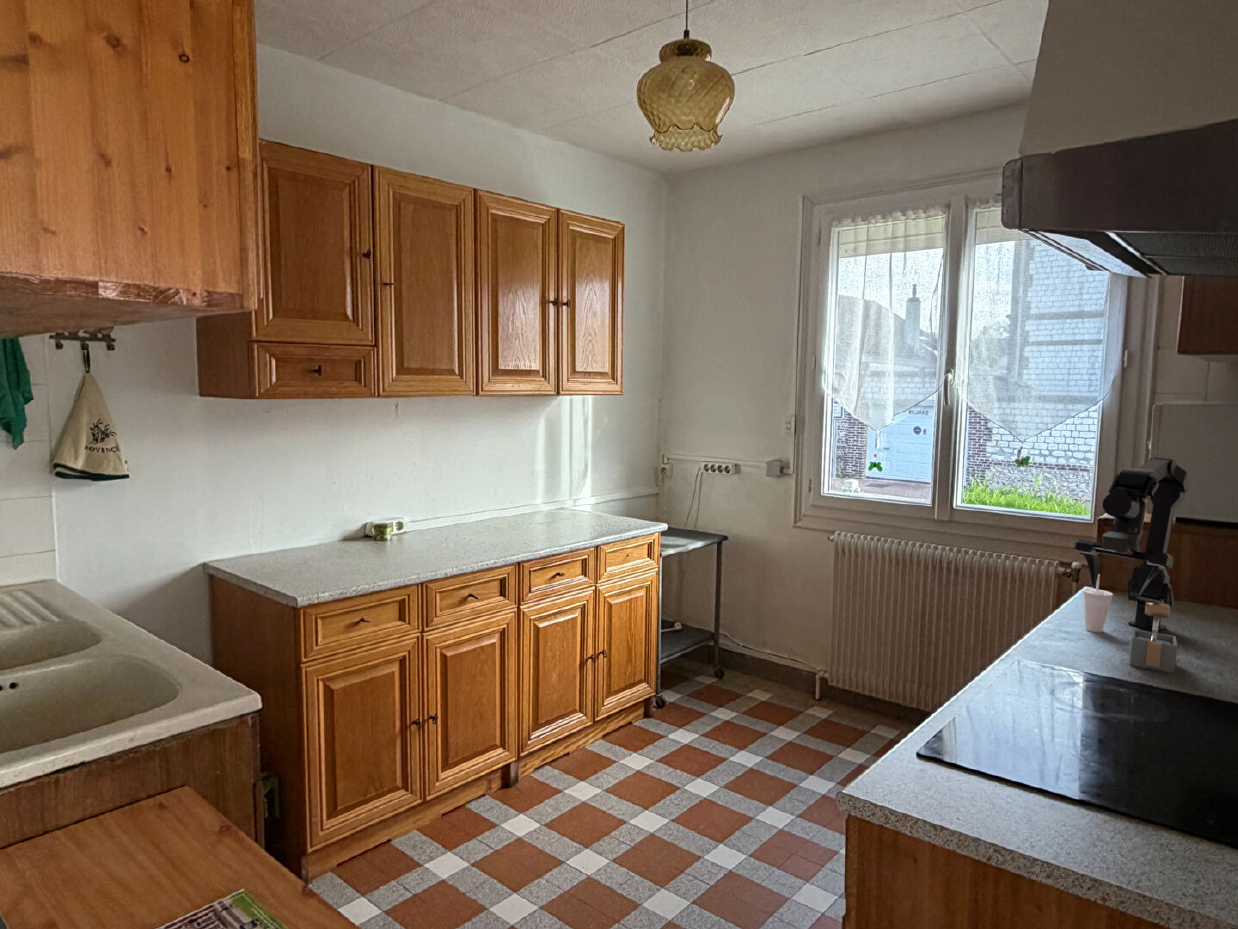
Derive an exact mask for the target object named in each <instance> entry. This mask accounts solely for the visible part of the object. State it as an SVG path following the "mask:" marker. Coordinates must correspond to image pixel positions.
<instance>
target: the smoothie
mask: <svg viewBox="0 0 1238 929" xmlns="http://www.w3.org/2000/svg"><path fill="white" fill-rule="evenodd" d="M1100 577H1101V574H1099V573H1098V578H1097V582H1096V585H1095V588H1083V589H1082V590H1083V592H1082V594H1083V596H1084V597H1083V598H1084V599H1083V600H1084V620H1085V621H1084V622H1085V624H1084V625H1085V630H1086V631H1087V632H1092V633H1103V632H1104V627H1105V624H1106V621H1107V617H1108V612H1109V608H1110V605H1111V601H1112V599H1113V598H1114V593H1113V592H1110V591H1108V590H1103V589H1100V588H1099V587H1100V581H1101V580H1100V579H1101V578H1100Z"/></svg>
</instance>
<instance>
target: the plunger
mask: <svg viewBox="0 0 1238 929" xmlns="http://www.w3.org/2000/svg"><path fill="white" fill-rule="evenodd" d="M1170 611H1171V607H1170V605H1168V604H1165V603H1160V602H1153V601H1148V602H1146V606H1145V614H1146V615H1149V616H1152V617H1154V619H1153V628H1152V630H1151V632H1152V637H1151V638H1147V637H1141V636H1137V637H1136V638H1137V639H1143V640H1148V641H1154V642H1160V643H1166V644H1171V643H1170V641H1165V640H1159V639H1157V633H1158V632H1159V630H1158V625H1159V618H1162V619H1169V618H1170ZM1158 634H1159V633H1158Z"/></svg>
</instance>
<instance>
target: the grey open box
mask: <svg viewBox="0 0 1238 929" xmlns="http://www.w3.org/2000/svg"><path fill="white" fill-rule="evenodd" d="M1137 636H1141V637H1147V638H1151V637H1152V631H1144V630H1139V629H1131V638H1130V646H1129V656H1130V657H1129V656H1128V657H1129V666H1132V665H1133V667H1139V668H1144V669H1148V670H1153V671H1160V672H1164V673H1169V674H1175V670H1176V662H1177V655H1178V654H1177V653H1178V641H1177V637H1176V635H1175V636H1174V635H1170V634H1164V633H1163V634H1162V633H1157V639H1159V640H1165V641H1170V643H1171V644H1166V643H1160V642H1154V641H1148V640H1143V639H1137V638H1136V637H1137Z"/></svg>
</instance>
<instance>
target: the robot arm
mask: <svg viewBox="0 0 1238 929" xmlns="http://www.w3.org/2000/svg"><path fill="white" fill-rule="evenodd" d="M1190 485H1191V482H1190V477H1189V475H1188V472H1187V471H1186V470H1185V469H1183V468H1182V467H1180V466H1179V465H1178V464H1177V462H1176V460H1175V459H1173V458H1169V457H1168V458H1167V457H1159V456H1157V457H1156V456H1154V457H1150V458H1149V459H1148V461H1147V462H1146V463H1144V464H1142V465H1141V466H1139V467H1135V468H1129V467H1128V468H1123V469H1122V468H1121V470H1119V472H1118V473H1117V474H1116V475H1115V477H1114V480H1113V481H1112V484H1111V486H1109V487H1110V488H1109V490H1108V494H1107V495H1106V496H1105V497H1104V499H1103V500H1102V509H1103V511H1104V512H1105V513H1106V514H1107V515H1108V516H1110V517H1112V518H1114V519H1113V524H1111V526H1110V529H1109V531H1107V532H1105V533H1103V534H1102V536H1101V537H1102V538H1101V543H1100V542H1098V541H1094V540H1087V539H1084V538H1083V539H1082V538H1079V539H1077V540H1076V541H1075V542H1074V543H1075V544H1074V547H1073V548H1074V549H1073V550H1074V551H1076V552H1079V555H1080V556H1083V557H1084V558H1085V560H1086V563H1087V566H1088V569H1089V575H1090V576H1089V577H1090V580H1091V585H1092V586H1093V587H1096V584H1097V578H1098V574H1099V572H1100V571H1099V570H1100V564H1101V559H1102V558H1101V557H1100V556H1098V554H1105V555H1109V556H1110V555H1111V556H1115V557H1121V558H1128V559H1133V560H1139V561H1142V562H1141V563H1140V564H1139V565H1138V566H1135V567H1134V568H1133V569H1132V575H1131V576H1130V578H1129V579H1128V583H1127V594H1128V595H1127V598H1128V601H1133V602H1135V610H1134V620H1131V621H1128V622H1127V625H1131V626H1133V627H1137V626H1138V627H1137V628H1141V629H1145V630H1149V631H1152V628H1153V619H1154V617H1152V616H1149V615H1146V614H1145V606H1146V602H1148V601H1153V602H1160V603H1165V604H1168V605H1170V608H1173V607H1174V594H1173V589H1172V586H1171V583H1170V580H1171V578H1170V575H1169V574H1168V572H1167V569H1166V568H1169V569H1173V565H1174V557H1173V556H1172V555H1171V554H1169V553H1167V552H1168V547H1169V541H1170V537H1171V536H1170V534H1171V532H1172V531H1171V530H1172V525H1173V520H1174V519H1173V518H1174V514H1175V510H1176V509H1177V507H1179V505H1181V504H1182V503H1183V502H1184V501H1185V498H1186V494H1187V493H1188V492H1189V490H1190V487H1191V486H1190ZM1145 499H1146V500H1150V501H1151V503H1152V510H1151V516H1150V520H1149V527H1148V531H1147V538H1146V543H1145V549H1144V551H1143V552H1141V551H1140V550H1141V548H1140V545H1141V537H1142V536H1143V533H1144V531H1143V526H1144V523H1145V522H1144V521H1145V518H1146V511H1147V506H1148V505H1147V502H1146V501H1145ZM1127 552H1131V553H1127ZM1162 621H1163V618H1159V625H1158V631H1161V630H1164V629H1167V628H1168V625H1165V624H1162Z"/></svg>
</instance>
